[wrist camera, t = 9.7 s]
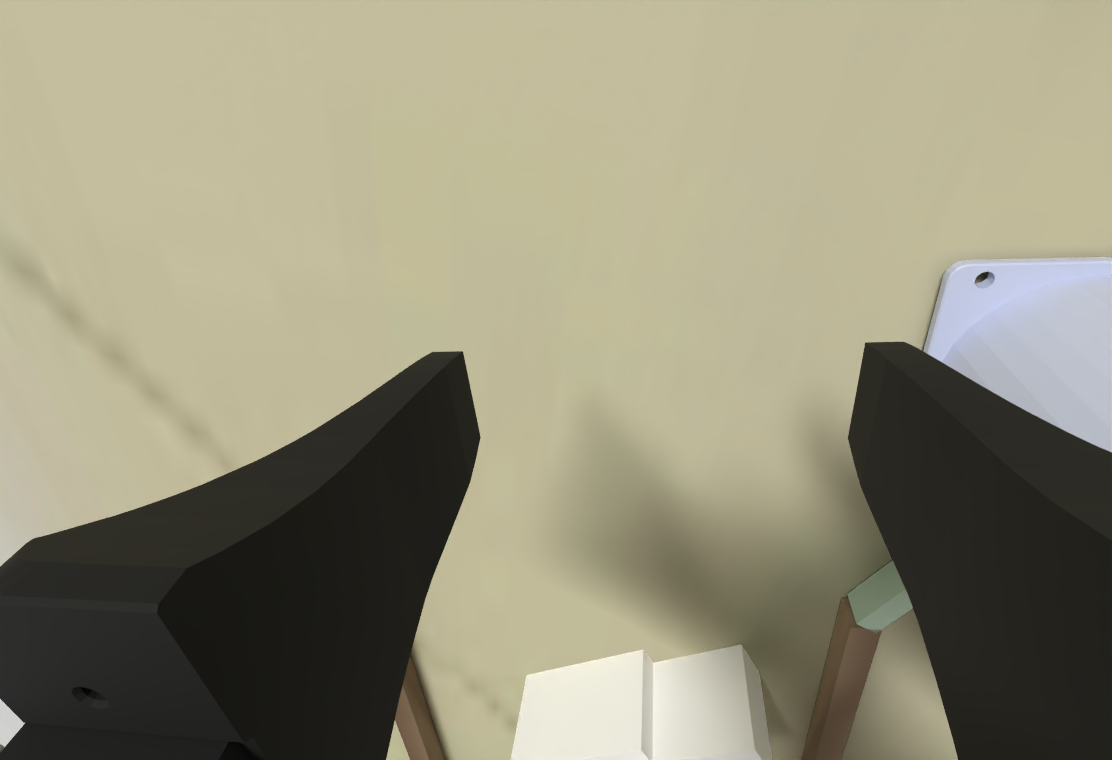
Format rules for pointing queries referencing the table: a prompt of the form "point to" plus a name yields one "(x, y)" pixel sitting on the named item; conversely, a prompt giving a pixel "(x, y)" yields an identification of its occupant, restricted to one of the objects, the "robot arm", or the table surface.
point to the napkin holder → (646, 710)
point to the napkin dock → (837, 693)
